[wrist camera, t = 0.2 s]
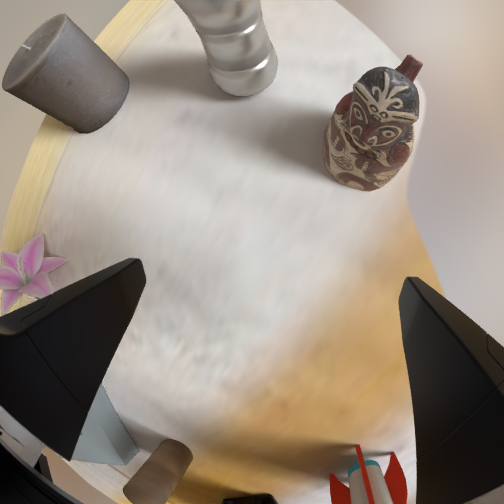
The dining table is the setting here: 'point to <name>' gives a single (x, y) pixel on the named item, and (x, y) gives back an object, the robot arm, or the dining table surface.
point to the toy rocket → (370, 484)
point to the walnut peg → (159, 474)
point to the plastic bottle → (234, 43)
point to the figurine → (374, 127)
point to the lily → (26, 272)
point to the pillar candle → (67, 76)
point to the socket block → (104, 435)
